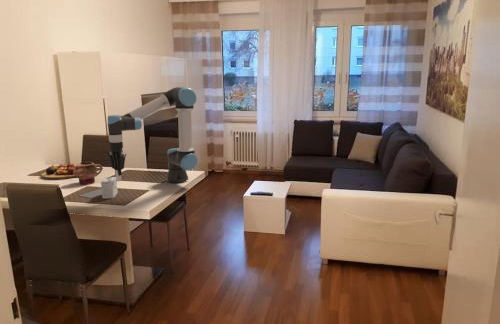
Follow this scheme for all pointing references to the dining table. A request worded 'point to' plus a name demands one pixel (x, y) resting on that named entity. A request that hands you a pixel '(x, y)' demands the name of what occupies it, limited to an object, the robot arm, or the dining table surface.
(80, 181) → the brown rounded vessel
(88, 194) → the mat
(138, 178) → the dining table surface
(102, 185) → the light bulb box
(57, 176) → the wooden plate with food
